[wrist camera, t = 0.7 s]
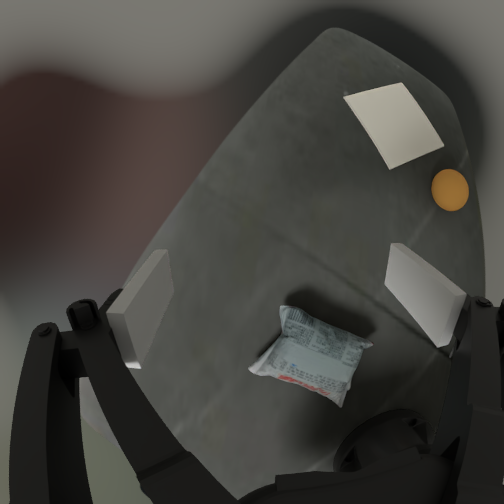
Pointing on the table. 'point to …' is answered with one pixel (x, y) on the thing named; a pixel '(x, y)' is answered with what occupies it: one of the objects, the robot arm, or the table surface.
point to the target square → (394, 123)
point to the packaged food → (312, 355)
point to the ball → (450, 190)
